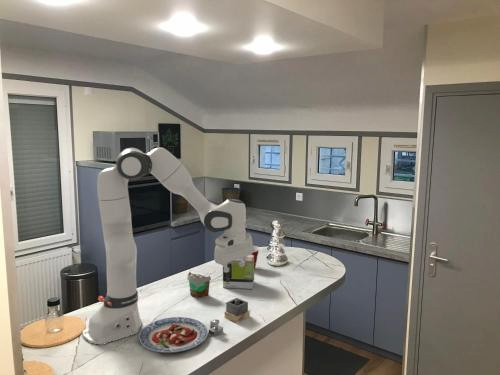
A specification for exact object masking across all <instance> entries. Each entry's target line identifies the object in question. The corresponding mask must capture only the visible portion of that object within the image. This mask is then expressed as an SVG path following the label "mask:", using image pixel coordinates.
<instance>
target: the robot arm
mask: <svg viewBox="0 0 500 375" xmlns="http://www.w3.org/2000/svg"><path fill="white" fill-rule="evenodd" d="M149 174H151V175H152V176H153V177H155V178H156V180H158V182H160V184H161V185H162V186H163V187H164V188H166V189H167V190H168V191H169V192H171V193H172V194H175V195H180V196H182V197H183V198H184V199H185V200H186V201H187V202H188V203H189V204H190V205H191V206H192V207H193V208H194V209H195V211H196V213H197V216H198V219H199V220H200V222H201V223H202V224H203V226H204V227H205V229H207V231H209V232H212V233H219V232H223V231H224V232H223V233H222V234H221V235H219V236H218V237H216V238H215V240H214V243H215V247H214V256H213V257H214V262H215V263H216V264H218V265H221V266H222V269H223V268H224V272H226V273H227V272H229V268H228V267H227V265H228V262H231V261H234V260H237V259H240V258H242V259H241V262H239V264H240V265H239V266H240V267H243V266H245V261H246V259H247V256H248V255H251V254H252V253H253V246H254V244H253V243H254V242H253V237H252V235H251V233H247V232H246V223H247V212H246V211H247V210H246V204H245V203H244V202H243V201H242V200H240V199H236V198H227V199H226V200H225V201H224V202H222V203H220V204H217V203H216V202H213V201H210V200H209V199H207V198H206V196H204V195H203V194H202V193H201V191H200V190H199V189H197V187H196V186H195V184H194V182H193V178H192V176H191V174H190V172H189V171H188V170H187V168H186V166H184V165H183V163H182V162H181V161H180V160H179V159H178V158H177V157H176V156H175V155H173V154H172V153H171V152H170V151H169V150H167V149H166V148H164V147H156V148H153V149H152V150H151V151H149V152H147V153H146V152H145V153H144V152H143V151H142V150H141V149H140V148H138V147H135V146H134V147H132V146H130V147H127V148H124V149H123V150H122V151H121V152H120V153H119V154H118V156H117V158H116V162H115V164H114V166H113V167H107V168H105V169H103V170H101V171H100V172H99V173H98V175H97V182H96V183H97V186H96V188H97V200H98V206H99V213H100V221H101V227H102V235H103V241H104V248H105V256H106V257H105V259H106V263H105V264H106V289H107V291H106V292H107V293H106V295H105V297H104V296H103V295H99V296H98V298H97V301H99V302H100V303H103V304H102V305H101V306H100V307H99V309H98V310H97V311H95V313H94V314H93V315H91V316H90V318H89V321H88V327H87V328H85V329H83V330H82V337H83V339H84V338H85V339H84V340H86V341H87V340H88V341H89V342H88V341H87V342H88V343H90V342H91V343H90V344H92V343H94V344H93V345H95V344H103V345H105V344H104V343H107V342H110V343H112V342H111V341H113V342H116V341H119V340H121V338H122V339H125V338H128V337H130V335H131V336H135V335H137V334H139V333H140V328H141V327H142V324H143V322H142V319H141V316H140V312H139V306H138V300H139V293H138V292H139V291H138V289H137V256H138V254H137V248H138V247H137V244H136V242H135V238H134V233H133V225H132V224H133V223H132V211H131V210H132V209H131V204H130V196H129V195H130V194H129V187H128V186H129V180H130V181H131V180H133V181H134V180H137V179H140V178H142V177H144V176H147V175H149ZM134 334H135V335H134ZM124 337H125V338H124ZM118 339H119V340H118ZM115 340H116V341H115ZM107 344H108V343H107Z"/></svg>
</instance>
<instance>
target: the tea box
mask: <svg viewBox="0 0 500 375" xmlns="http://www.w3.org/2000/svg"><path fill="white" fill-rule="evenodd" d="M241 259H242V258H240V259H237V260H234V261H231V262H228V265H227V267H228V268H229V272H227V273H226V272H224V268H223V267H222V288H223V289H224V288H226V289H245V290H246V289H249V290H250V289H251V290H252V289H253V288H254V284H255V269H254V255H248V256H247V259H246V261H245V266H243V267H240V266H239V265H240V264H239V262H241Z"/></svg>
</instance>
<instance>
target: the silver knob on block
mask: <svg viewBox="0 0 500 375" xmlns="http://www.w3.org/2000/svg"><path fill="white" fill-rule="evenodd" d="M211 321H212V323H213V324H214V327H212V328H210V327H209V329H208V335H209V336H211V337H214V338H215V337H216V336H218V335H220V334H222V333H224V327H223V326H222V325H220V320H219V319H212V320H211Z"/></svg>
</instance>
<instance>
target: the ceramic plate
mask: <svg viewBox="0 0 500 375" xmlns="http://www.w3.org/2000/svg"><path fill="white" fill-rule="evenodd" d="M138 334H139V335H138V340H139V342H140V344H141V345H142V346H143V347H144V348H146V349H148V350H151V351H153V352H157V353H167V354H168V353H178V352H184V351H189V350H190V349H194V348H196V347H198V345H200V344H201V343H203V342H204V341H205V340H206V339H207V337H208V335H209V329H208V327H207V326H206V325H205V323H203V322H202V321H200V320H198V319H195V318H191V317H187V316H171V317H166V318H161V319H157V320H155V321H153V322H150V323H149V324H147V325H146V326H144V327H143V328H142V329H141V330H140V331H139V333H138Z"/></svg>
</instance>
